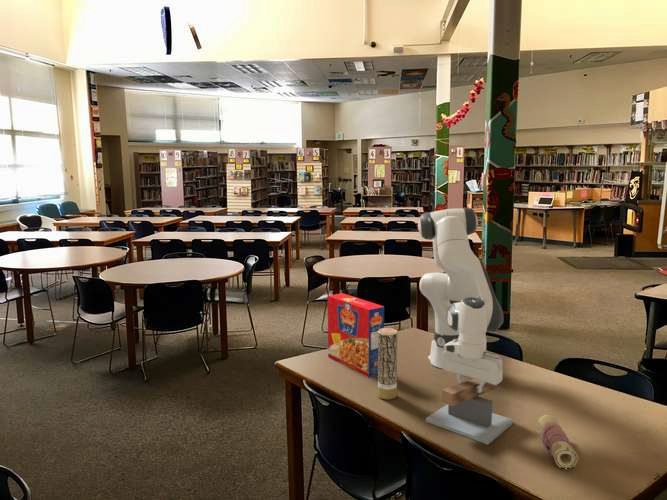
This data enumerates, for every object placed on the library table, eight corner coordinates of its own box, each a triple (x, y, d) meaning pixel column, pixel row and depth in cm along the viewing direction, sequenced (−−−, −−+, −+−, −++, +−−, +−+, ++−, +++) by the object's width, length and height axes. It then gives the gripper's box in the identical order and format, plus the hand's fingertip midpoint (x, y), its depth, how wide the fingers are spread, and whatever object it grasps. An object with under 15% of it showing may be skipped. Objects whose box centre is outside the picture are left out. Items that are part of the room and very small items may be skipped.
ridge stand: (425, 421, 172) (426, 395, 171) (453, 403, 185) (454, 378, 184) (488, 444, 158) (489, 416, 156) (513, 423, 171) (514, 396, 169)
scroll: (528, 429, 164) (544, 464, 144) (540, 409, 162) (557, 442, 143) (551, 440, 163) (569, 477, 144) (563, 420, 162) (583, 455, 142)
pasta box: (328, 357, 231) (327, 295, 227) (342, 353, 236) (342, 293, 231) (368, 377, 209) (368, 309, 204) (383, 372, 213) (384, 306, 209)
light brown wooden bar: (486, 384, 178) (487, 373, 177) (496, 388, 175) (497, 377, 174) (441, 401, 165) (442, 389, 165) (451, 406, 162) (452, 394, 161)
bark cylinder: (395, 401, 187) (396, 334, 183) (376, 399, 189) (377, 333, 185) (397, 393, 194) (398, 328, 190) (379, 391, 195) (379, 327, 191)
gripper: (507, 353, 163) (505, 395, 165) (449, 339, 176) (448, 378, 179) (498, 359, 158) (496, 402, 160) (439, 344, 172) (438, 383, 174)
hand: (470, 389), depth 170 cm, fingers closed on light brown wooden bar, 4 cm apart
